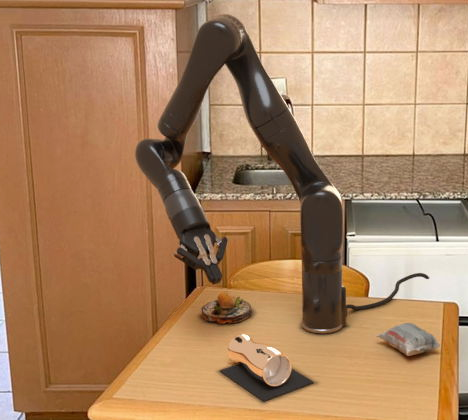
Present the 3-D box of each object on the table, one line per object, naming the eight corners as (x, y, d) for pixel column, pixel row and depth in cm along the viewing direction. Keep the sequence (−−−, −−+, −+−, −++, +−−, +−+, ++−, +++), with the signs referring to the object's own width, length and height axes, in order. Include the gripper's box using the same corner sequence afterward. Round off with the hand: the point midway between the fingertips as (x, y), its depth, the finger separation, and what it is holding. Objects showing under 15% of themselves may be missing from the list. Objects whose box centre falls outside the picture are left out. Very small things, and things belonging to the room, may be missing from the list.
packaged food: (407, 364, 168) (408, 342, 166) (375, 343, 178) (376, 322, 176) (441, 355, 172) (442, 334, 170) (408, 335, 182) (408, 315, 180)
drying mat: (219, 371, 166) (219, 370, 166) (268, 355, 173) (268, 354, 173) (263, 402, 154) (263, 400, 153) (313, 383, 160) (313, 381, 160)
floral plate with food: (254, 305, 200) (253, 276, 198) (248, 324, 188) (247, 294, 186) (205, 305, 200) (204, 276, 198) (197, 324, 189) (195, 294, 187)
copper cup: (241, 370, 170) (278, 394, 158) (219, 354, 167) (255, 376, 154) (260, 342, 172) (298, 364, 160) (238, 325, 168) (276, 346, 156)
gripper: (164, 210, 171) (195, 280, 165) (217, 200, 179) (250, 267, 173) (154, 229, 177) (184, 297, 171) (206, 218, 185) (237, 283, 179)
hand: (217, 282), depth 172 cm, fingers closed
